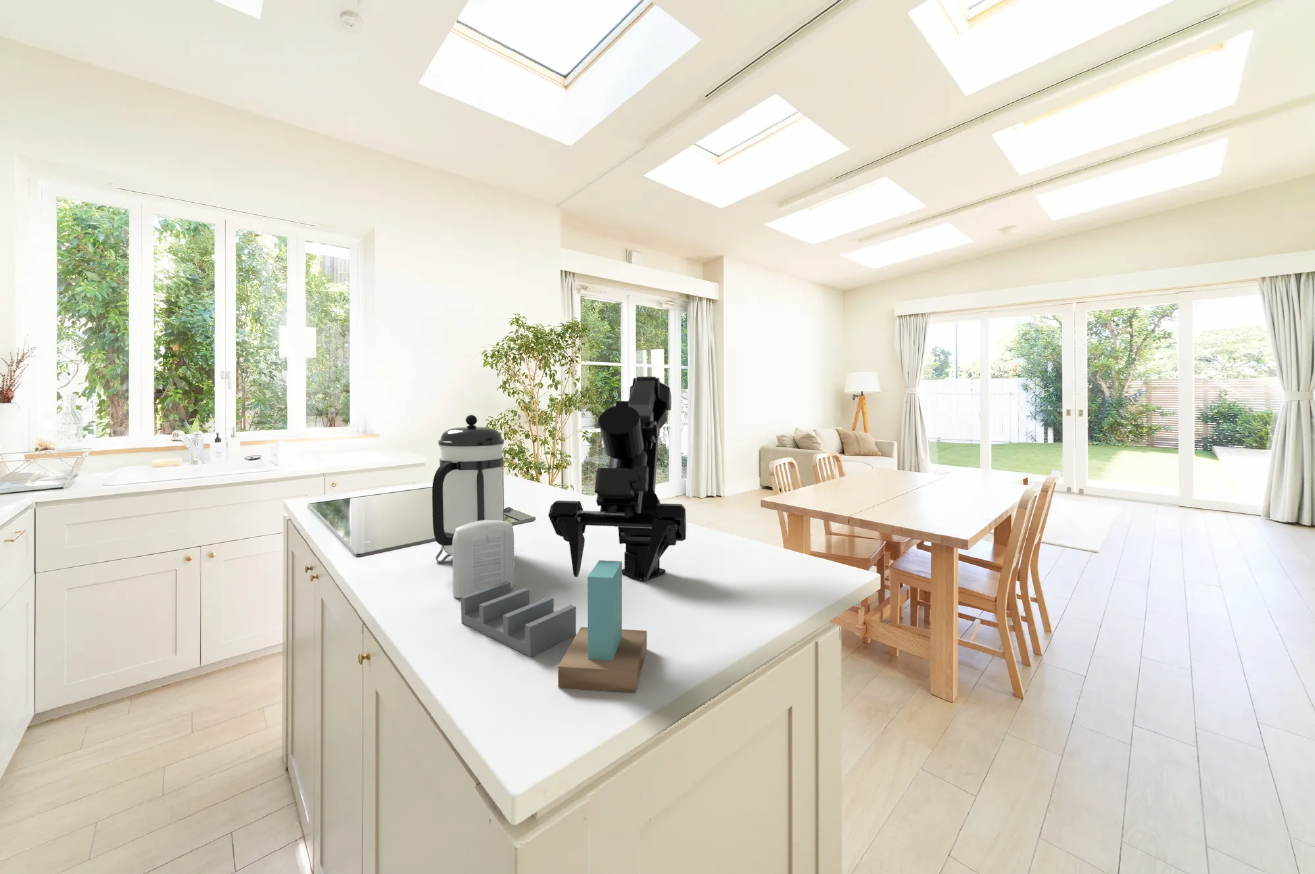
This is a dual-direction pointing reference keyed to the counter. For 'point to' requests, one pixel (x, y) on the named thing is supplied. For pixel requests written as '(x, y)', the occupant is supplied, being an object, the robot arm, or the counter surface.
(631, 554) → the robot arm
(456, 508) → the coffee press
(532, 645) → the rack
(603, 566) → the thick teal slab
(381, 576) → the counter surface
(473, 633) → the counter surface
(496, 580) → the grey rounded slab
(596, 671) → the brown block
